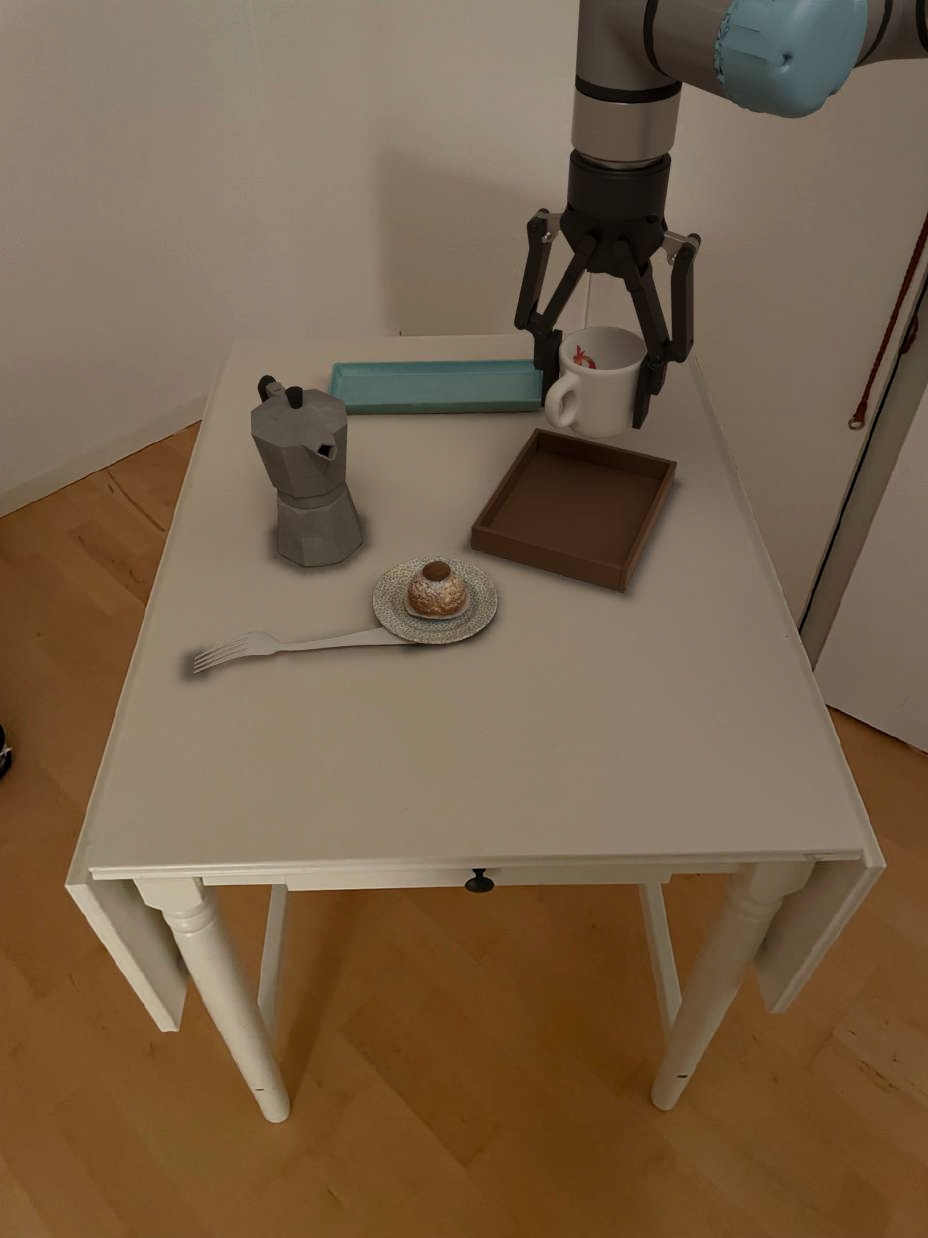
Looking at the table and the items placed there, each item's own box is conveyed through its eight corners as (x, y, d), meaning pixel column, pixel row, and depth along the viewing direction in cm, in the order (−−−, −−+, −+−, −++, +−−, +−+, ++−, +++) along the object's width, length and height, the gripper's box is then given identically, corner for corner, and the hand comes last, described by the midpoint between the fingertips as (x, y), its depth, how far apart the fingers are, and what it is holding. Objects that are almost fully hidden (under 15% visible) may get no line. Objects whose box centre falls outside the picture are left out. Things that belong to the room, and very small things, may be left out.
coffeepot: (390, 557, 93) (375, 407, 80) (306, 593, 90) (275, 443, 76) (323, 478, 102) (299, 331, 89) (244, 508, 99) (207, 360, 85)
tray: (673, 483, 100) (677, 461, 98) (624, 593, 89) (627, 570, 87) (534, 449, 105) (536, 427, 103) (471, 549, 94) (471, 527, 91)
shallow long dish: (326, 419, 110) (324, 401, 108) (335, 376, 116) (332, 359, 114) (545, 417, 109) (546, 400, 107) (542, 375, 115) (543, 357, 113)
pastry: (484, 661, 83) (486, 625, 80) (357, 640, 85) (353, 604, 81) (506, 573, 91) (509, 538, 88) (390, 556, 93) (388, 521, 90)
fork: (421, 662, 86) (423, 643, 84) (193, 677, 83) (189, 657, 81) (417, 640, 88) (419, 621, 86) (194, 654, 85) (191, 634, 83)
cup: (578, 473, 82) (583, 395, 76) (517, 435, 86) (517, 359, 80) (658, 424, 86) (668, 347, 80) (596, 390, 90) (601, 315, 85)
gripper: (773, 150, 67) (715, 413, 84) (508, 113, 73) (504, 366, 89) (752, 190, 62) (695, 460, 79) (471, 147, 68) (474, 407, 85)
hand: (594, 409), depth 84 cm, fingers closed on cup, 8 cm apart
